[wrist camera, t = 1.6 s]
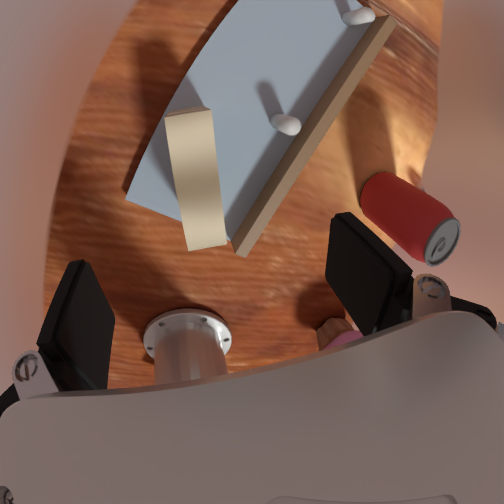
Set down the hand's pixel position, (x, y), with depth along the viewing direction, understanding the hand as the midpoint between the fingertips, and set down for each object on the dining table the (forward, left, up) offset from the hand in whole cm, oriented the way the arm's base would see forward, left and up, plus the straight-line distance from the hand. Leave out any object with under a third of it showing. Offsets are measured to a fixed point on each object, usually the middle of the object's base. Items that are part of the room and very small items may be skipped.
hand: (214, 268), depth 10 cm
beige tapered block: (0, 0, -17) cm, 17 cm away
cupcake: (-14, -31, -18) cm, 38 cm away
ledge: (+9, -3, -18) cm, 20 cm away
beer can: (+7, -22, -18) cm, 29 cm away
